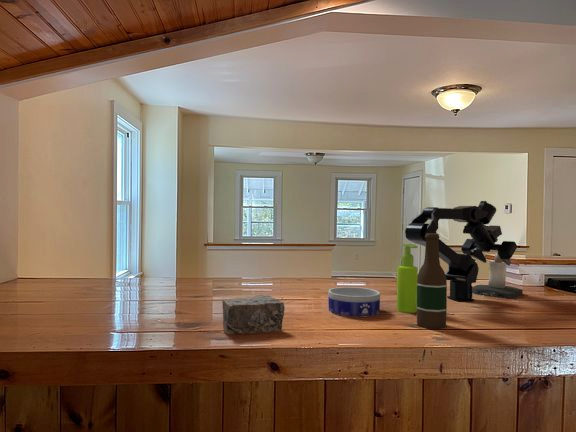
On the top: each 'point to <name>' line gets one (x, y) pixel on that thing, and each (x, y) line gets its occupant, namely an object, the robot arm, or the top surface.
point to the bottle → (497, 273)
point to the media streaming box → (498, 291)
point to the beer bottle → (431, 288)
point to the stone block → (252, 314)
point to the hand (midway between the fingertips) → (497, 263)
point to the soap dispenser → (407, 282)
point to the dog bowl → (354, 301)
